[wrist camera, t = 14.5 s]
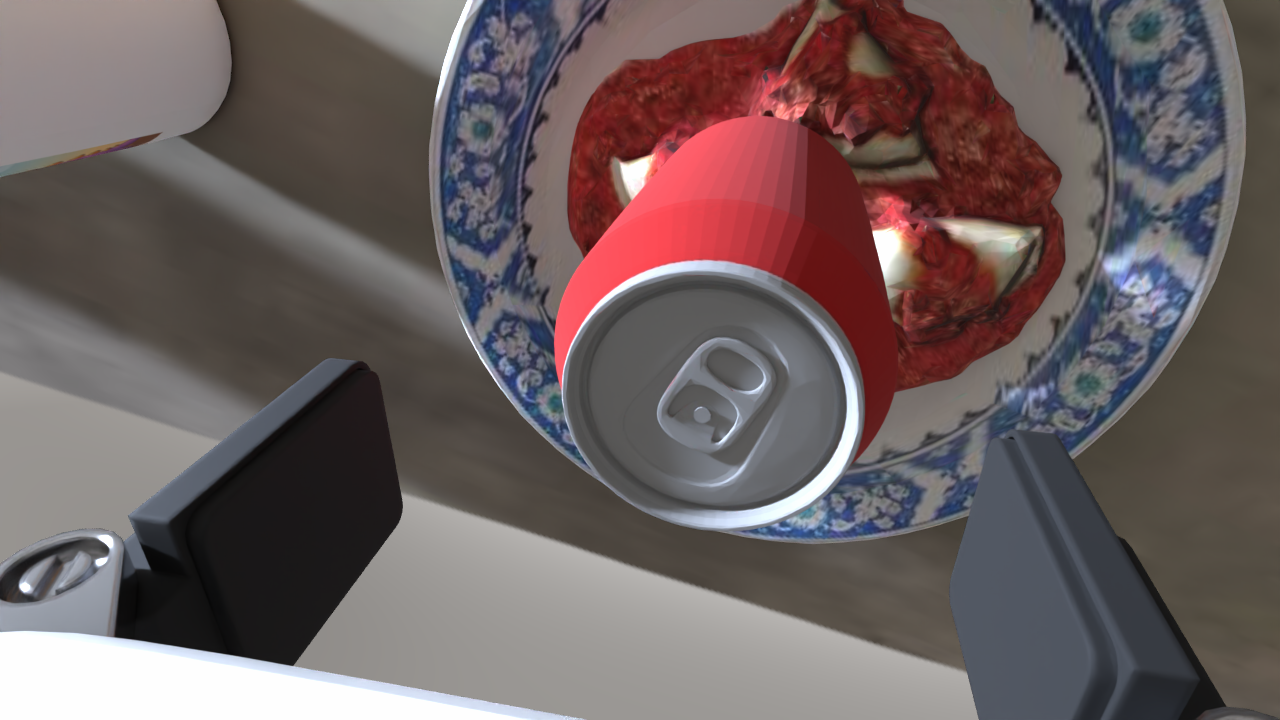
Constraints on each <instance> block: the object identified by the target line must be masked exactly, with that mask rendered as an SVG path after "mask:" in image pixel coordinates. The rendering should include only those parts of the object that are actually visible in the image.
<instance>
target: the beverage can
mask: <svg viewBox="0 0 1280 720" xmlns="http://www.w3.org/2000/svg"><path fill="white" fill-rule="evenodd" d="M554 347H555V363H556V370H557V375H558V379H559V384H560V387H561V390H562V402H563V408H564V413H565V418H566V422H567V425H568V428H569V431H570V433H571V436H572V438H573V441H574V443H575V445H576V447H577V448H578V450H579V452H580V454H581V455H582V457H583V458H584V460H585V461H586V463H587V464H588V465H589V467H590V468H591V469H592V471H593V472H594V473H595V474H596V475H597V476H598V477H599V479H600V480H601V481H602V482H603V483H604V484H606V485H607V486H608V487H609V488H610V489H611V490H612V491H614V492H615V493H616V494H617V495H618V496H620V497H621V498H623V499H624V500H625V501H627V502H628V503H630V504H632V505H633V506H635V507H636V508H638V509H640V510H642V511H644V512H645V513H648V514H650V515H652V516H654V517H657V518H659V519H662V520H664V521H667V522H670V523H673V524H677V525H680V526H684V527H688V528H693V529H700V530H708V531H743V530H751V529H757V528H762V527H766V526H770V525H773V524H777V523H779V522H782V521H785V520H787V519H790V518H792V517H794V516H796V515H798V514H800V513H802V512H804V511H805V510H807V509H809V508H810V507H812V506H813V505H815V504H816V503H818V502H819V501H820V500H821V499H822V498H823V497H825V496H826V495H827V494H828V493H829V492H830V491H831V490H832V489H833V488H834V487H835V486H836V485H837V484H838V482H839V481H840V480H841V479H842V477H843V476H844V475H845V473H846V472H847V471H848V469H849V467H850V466H851V465H852V464H853V463H854V462H855V461H856V460H857V459H858V458H859V457H860V456H861V455H862V453H863V452H864V451H865V450H866V449H867V448H868V446H869V445H870V443H871V442H872V441H873V439H874V438H875V436H876V435H877V433H878V431H879V430H880V428H881V426H882V424H883V422H884V421H885V418H886V416H887V414H888V411H889V409H890V406H891V403H892V400H893V397H894V393H895V388H896V384H897V376H898V345H897V338H896V333H895V328H894V323H893V318H892V314H891V309H890V304H889V300H888V295H887V290H886V286H885V281H884V276H883V272H882V268H881V264H880V260H879V256H878V252H877V248H876V244H875V240H874V236H873V232H872V228H871V224H870V220H869V217H868V213H867V210H866V207H865V203H864V200H863V197H862V193H861V190H860V187H859V184H858V182H857V179H856V177H855V175H854V173H853V171H852V169H851V167H850V166H849V164H848V163H847V161H846V160H845V159H844V157H843V156H842V155H841V154H840V152H839V151H838V150H837V149H836V148H835V147H834V146H833V145H832V144H830V143H829V142H828V141H827V140H826V139H825V138H823V137H822V136H820V135H819V134H817V133H816V132H814V131H812V130H811V129H809V128H807V127H805V126H802V125H800V124H798V123H795V122H792V121H789V120H785V119H781V118H775V117H767V116H748V117H740V118H735V119H730V120H727V121H723V122H720V123H718V124H715V125H713V126H710V127H708V128H706V129H705V130H703V131H701V132H699V133H698V134H696V135H695V136H693V137H692V138H690V139H689V140H688V141H687V142H685V143H684V144H683V145H682V146H681V147H680V148H679V149H678V150H677V151H676V152H675V153H674V154H673V155H672V156H671V157H670V158H669V159H668V160H667V162H666V163H665V164H664V165H663V166H662V167H661V168H660V169H659V170H658V171H657V172H656V174H655V175H654V176H653V177H652V178H651V179H650V180H649V182H648V183H647V184H646V185H645V186H644V187H643V188H642V189H641V191H640V192H639V193H638V194H637V195H636V196H635V197H634V199H633V200H632V201H631V202H630V203H629V205H628V206H627V207H626V208H625V209H624V210H623V212H622V213H621V214H620V215H619V216H618V218H617V219H616V220H615V221H614V222H613V224H612V225H611V226H610V227H609V229H608V230H607V231H606V232H605V233H604V235H603V236H602V237H601V238H600V240H599V241H598V242H597V243H596V245H595V246H594V247H593V248H592V250H591V251H590V252H589V253H588V255H587V256H586V257H585V258H584V260H583V261H582V262H581V264H580V265H579V266H578V268H577V269H576V271H575V273H574V274H573V276H572V278H571V279H570V281H569V284H568V286H567V288H566V290H565V292H564V295H563V298H562V300H561V303H560V307H559V311H558V315H557V320H556V327H555V339H554Z"/></svg>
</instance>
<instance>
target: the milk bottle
mask: <svg viewBox="0 0 1280 720" xmlns="http://www.w3.org/2000/svg"><path fill="white" fill-rule="evenodd" d="M231 66H232V59H231V49H230V40H229V37H228V33H227V29H226V24H225V21H224V18H223V16H222V13H221V11H220V8H219V6H218V3H217V1H216V0H0V177H3V176H8V175H12V174H17V173H21V172H26V171H30V170H35V169H39V168H44V167H48V166H53V165H57V164H61V163H66V162H70V161H74V160H79V159H83V158H87V157H92V156H96V155H100V154H105V153H109V152H113V151H118V150H122V149H126V148H131V147H135V146H139V145H143V144H148V143H152V142H156V141H160V140H165V139H168V138H172V137H175V136H179V135H182V134H186V133H189V132H192V131H194V130H196V129H198V128H200V127H201V126H203V125H204V124H205V123H206V122H208V121H209V120H210V118H211V117H212V116H213V115H214V114H215V113H216V112H217V110H218V109H219V107H220V105H221V103H222V102H223V100H224V98H225V97H226V93H227V90H228V86H229V83H230V78H231Z"/></svg>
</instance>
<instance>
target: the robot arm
mask: <svg viewBox="0 0 1280 720" xmlns="http://www.w3.org/2000/svg"><path fill="white" fill-rule="evenodd" d="M402 509H403V502H402V496H401V491H400V486H399V480H398V475H397V470H396V465H395V459H394V454H393V449H392V443H391V438H390V433H389V428H388V422H387V417H386V412H385V406H384V401H383V396H382V391H381V385H380V381H379V377H378V375H377V374H376V373H375V372H373V371H370V368H369V367H368V365H367V364H366V363H364V362H363V361H353V360H344V359H334V358H328V359H326V360H324V361H322V362H321V363H320V364H319V365H317V366H316V367H315V368H314V369H312V370H311V371H310V372H309V373H307V374H306V375H305V376H304V377H302V378H301V379H300V380H299V381H297V382H296V383H295V384H293V385H292V386H291V387H290V388H288V389H287V390H286V391H285V392H283V393H282V394H281V395H280V396H278V397H277V398H276V399H275V400H273V401H272V402H271V403H270V404H268V405H267V406H266V407H264V408H263V409H262V410H261V411H259V412H258V413H257V414H256V415H254V416H253V417H252V418H251V419H249V420H248V421H247V422H246V423H244V424H243V425H242V426H240V427H239V428H238V429H237V430H235V431H234V432H233V433H232V434H230V435H229V436H228V437H227V438H225V439H224V440H223V441H222V442H220V443H219V444H218V445H217V446H215V447H214V448H213V449H212V450H210V451H209V452H208V453H206V454H205V455H204V456H203V457H201V458H200V459H199V460H198V461H196V462H195V463H194V464H193V465H191V466H190V467H189V468H188V469H186V470H185V471H184V472H183V473H181V474H180V475H179V476H177V477H176V478H175V479H174V480H172V481H171V482H170V483H169V484H167V485H166V486H165V487H164V488H162V489H161V490H160V491H159V492H157V493H156V494H155V495H154V496H152V497H151V498H150V499H148V500H147V501H146V502H145V503H143V504H142V505H141V506H140V507H138V508H137V509H136V510H135V511H133V512H132V513H131V514H130V515H128V517H129V519H130V522H131V524H132V527H133V529H134V531H135V533H134V534H132V535H131V536H130V537H129V538H127V539H126V540H125V541H124V542H123V540H122V538H121V537H119V536H118V535H117V534H116V533H115V532H113V531H109V530H105V529H100V528H99V529H97V528H96V529H79V530H74V531H69V532H63V533H60V534H57V535H54V536H51V537H48V538H45V539H42V540H40V541H38V542H36V543H34V544H32V545H29V546H28V547H25V548H23V549H21V550H19V551H18V552H16V553H15V554H13V555H12V556H10V557H9V558H7V559H6V560H4V561H3V562H1V563H0V720H585V719H580V718H574V717H569V716H564V715H558V714H553V713H547V712H542V711H536V710H532V709H526V708H521V707H515V706H510V705H504V704H499V703H494V702H488V701H483V700H477V699H472V698H466V697H460V696H455V695H450V694H444V693H439V692H434V691H428V690H423V689H417V688H412V687H406V686H401V685H395V684H390V683H384V682H378V681H373V680H367V679H362V678H356V677H350V676H345V675H339V674H333V673H328V672H323V671H317V670H311V669H305V668H300V667H294V666H293V665H294V664H295V663H296V661H297V660H298V659H299V657H300V656H301V655H302V653H303V652H304V651H305V649H306V648H307V646H308V645H309V644H310V643H311V641H312V640H313V638H314V637H315V636H316V634H317V633H318V632H319V630H320V629H321V628H322V626H323V625H324V624H325V622H326V621H327V619H328V618H329V617H330V615H331V614H332V613H333V611H334V610H335V609H336V607H337V606H338V605H339V603H340V602H341V601H342V599H343V598H344V597H345V595H346V594H347V593H348V591H349V590H350V588H351V587H352V586H353V584H354V583H355V582H356V580H357V579H358V578H359V576H360V575H361V574H362V572H363V571H364V569H365V568H366V567H367V565H368V564H369V563H370V561H371V560H372V559H373V557H374V556H375V555H376V553H377V552H378V551H379V549H380V548H381V547H382V545H383V544H384V542H385V541H386V540H387V538H388V537H389V536H390V534H391V533H392V532H393V530H394V529H395V528H396V526H397V525H398V523H399V521H400V518H401V515H402ZM949 597H950V605H951V609H952V613H953V617H954V621H955V625H956V629H957V633H958V637H959V642H960V646H961V650H962V654H963V658H964V662H965V666H966V670H967V674H968V678H969V682H970V685H971V690H972V694H973V698H974V702H975V706H976V710H977V714H978V718H979V720H1280V719H1278V718H1276V717H1273V716H1270V715H1267V714H1263V713H1260V712H1257V711H1254V710H1250V709H1244V708H1234V707H1226V705H1225V703H1224V702H1223V700H1222V698H1221V697H1220V695H1219V693H1218V692H1217V690H1216V688H1215V687H1214V685H1213V683H1212V682H1211V680H1210V678H1209V677H1208V675H1207V673H1206V672H1205V670H1204V668H1203V667H1202V665H1201V663H1200V662H1199V660H1198V658H1197V656H1196V655H1195V653H1194V651H1193V650H1192V648H1191V646H1190V645H1189V643H1188V641H1187V640H1186V638H1185V636H1184V635H1183V633H1182V631H1181V630H1180V628H1179V626H1178V625H1177V623H1176V621H1175V620H1174V618H1173V616H1172V615H1171V613H1170V611H1169V610H1168V608H1167V606H1166V605H1165V603H1164V601H1163V599H1162V598H1161V596H1160V594H1159V593H1158V591H1157V589H1156V588H1155V586H1154V584H1153V583H1152V581H1151V579H1150V578H1149V576H1148V574H1147V573H1146V571H1145V569H1144V568H1143V566H1142V564H1141V563H1140V561H1139V559H1138V558H1137V556H1136V554H1135V553H1134V551H1133V549H1132V548H1131V547H1130V545H1129V544H1128V543H1127V542H1126V540H1125V539H1123V538H1121V537H1119V536H1116V534H1115V532H1114V530H1113V529H1112V527H1111V525H1110V524H1109V522H1108V520H1107V518H1106V517H1105V515H1104V513H1103V512H1102V510H1101V508H1100V506H1099V505H1098V503H1097V501H1096V500H1095V498H1094V496H1093V494H1092V493H1091V491H1090V489H1089V488H1088V486H1087V484H1086V482H1085V481H1084V479H1083V477H1082V476H1081V474H1080V472H1079V470H1078V469H1077V467H1076V465H1075V463H1074V462H1073V460H1072V458H1071V457H1070V455H1069V453H1068V451H1067V450H1066V448H1065V446H1064V445H1063V443H1062V441H1061V439H1060V438H1059V437H1058V436H1057V435H1056V434H1053V433H1045V432H1035V431H1025V430H1016V429H1011V430H1009V431H1008V432H1007V433H1006V435H1005V436H1004V438H993V439H992V440H991V442H990V444H989V447H988V450H987V453H986V457H985V460H984V464H983V467H982V471H981V474H980V478H979V481H978V485H977V488H976V492H975V495H974V499H973V503H972V506H971V510H970V513H969V517H968V520H967V524H966V527H965V531H964V534H963V538H962V541H961V545H960V548H959V552H958V555H957V559H956V562H955V566H954V569H953V573H952V576H951V580H950V588H949Z"/></svg>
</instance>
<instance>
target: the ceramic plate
mask: <svg viewBox="0 0 1280 720" xmlns="http://www.w3.org/2000/svg"><path fill="white" fill-rule="evenodd" d="M748 116H767V117H775V118H781V119H785V120H789V121H792V122H795V123H798V124H800V125H802V126H805V127H807V128H809V129H811V130H812V131H814V132H816V133H817V134H819V135H820V136H822V137H823V138H825V139H826V140H827V141H828V142H829V143H830V144H832V145H833V146H834V147H835V148H836V149H837V150H838V151H839V152H840V154H841V155H842V156H843V157H844V159H845V160H846V161H847V163H848V164H849V166H850V167H851V169H852V171H853V173H854V175H855V177H856V179H857V182H858V184H859V187H860V190H861V193H862V197H863V200H864V203H865V207H866V210H867V213H868V217H869V220H870V224H871V228H872V232H873V236H874V240H875V244H876V248H877V252H878V256H879V260H880V264H881V268H882V272H883V276H884V281H885V286H886V290H887V295H888V300H889V304H890V309H891V314H892V318H893V323H894V328H895V333H896V338H897V345H898V376H897V384H896V388H895V393H894V397H893V400H892V403H891V406H890V409H889V411H888V414H887V416H886V418H885V421H884V422H883V424H882V426H881V428H880V430H879V431H878V433H877V435H876V436H875V438H874V439H873V441H872V442H871V443H870V445H869V446H868V448H867V449H866V450H865V451H864V452H863V453H862V455H861V456H860V457H859V458H858V459H857V460H856V461H855V462H854V463H853V464H852V465H851V466H850V467H849V469H848V471H847V472H846V473H845V475H844V476H843V477H842V479H841V480H840V481H839V482H838V484H837V485H836V486H835V487H834V488H833V489H832V490H831V491H830V492H829V493H828V494H827V495H826V496H825V497H823V498H822V499H821V500H820V501H819V502H818V503H816V504H815V505H813V506H812V507H810V508H809V509H807V510H805V511H804V512H802V513H800V514H798V515H796V516H794V517H792V518H790V519H787V520H785V521H782V522H779V523H777V524H773V525H770V526H766V527H762V528H757V529H751V530H743V531H718V532H723V533H727V534H732V535H737V536H742V537H747V538H755V539H762V540H769V541H778V542H793V543H807V544H822V543H840V542H851V541H862V540H872V539H878V538H884V537H890V536H896V535H902V534H906V533H910V532H914V531H918V530H922V529H926V528H930V527H934V526H938V525H941V524H944V523H947V522H950V521H953V520H956V519H959V518H963V517H966V516H969V513H970V510H971V506H972V503H973V499H974V495H975V492H976V488H977V485H978V481H979V478H980V474H981V471H982V467H983V464H984V460H985V457H986V453H987V450H988V447H989V444H990V442H991V440H992V439H993V438H1004V436H1005V435H1006V433H1007V432H1008V431H1009V430H1011V429H1016V430H1025V431H1035V432H1045V433H1053V434H1056V435H1057V436H1058V437H1059V438H1060V439H1061V441H1062V443H1063V445H1064V446H1065V448H1066V450H1067V451H1068V453H1069V455H1070V457H1071V458H1072V459H1074V458H1075V457H1076V456H1077V455H1079V454H1080V453H1081V452H1082V451H1084V450H1085V449H1086V448H1087V447H1089V446H1090V445H1091V444H1092V443H1093V442H1095V441H1096V440H1097V439H1098V438H1099V437H1100V436H1101V435H1102V434H1104V433H1105V432H1106V431H1107V430H1108V429H1109V428H1110V427H1111V426H1113V425H1114V424H1115V423H1116V422H1117V421H1118V420H1119V419H1120V418H1121V417H1122V416H1123V415H1124V414H1125V413H1126V412H1127V411H1128V410H1129V409H1130V408H1131V407H1132V406H1133V405H1134V404H1135V403H1136V401H1137V400H1138V399H1139V398H1140V397H1141V396H1142V395H1143V394H1144V393H1145V392H1146V391H1147V390H1148V389H1149V388H1150V387H1151V386H1152V384H1153V383H1154V382H1155V380H1156V379H1157V378H1158V376H1159V375H1160V374H1161V372H1162V371H1163V369H1164V368H1165V367H1166V365H1167V364H1168V363H1169V361H1170V360H1171V358H1172V357H1173V355H1174V354H1175V352H1176V351H1177V349H1178V347H1179V346H1180V344H1181V343H1182V341H1183V340H1184V338H1185V336H1186V335H1187V333H1188V332H1189V330H1190V329H1191V327H1192V326H1193V324H1194V322H1195V320H1196V318H1197V316H1198V314H1199V312H1200V310H1201V308H1202V306H1203V304H1204V302H1205V300H1206V298H1207V296H1208V294H1209V292H1210V290H1211V288H1212V286H1213V284H1214V282H1215V280H1216V278H1217V275H1218V272H1219V269H1220V266H1221V263H1222V261H1223V258H1224V255H1225V252H1226V249H1227V246H1228V242H1229V238H1230V235H1231V231H1232V227H1233V223H1234V219H1235V216H1236V212H1237V208H1238V203H1239V196H1240V189H1241V182H1242V176H1243V169H1244V162H1245V155H1246V112H1245V100H1244V89H1243V78H1242V70H1241V65H1240V60H1239V56H1238V51H1237V46H1236V42H1235V37H1234V32H1233V28H1232V24H1231V21H1230V19H1229V16H1228V13H1227V10H1226V7H1225V4H1224V2H1223V0H468V1H467V4H466V6H465V8H464V11H463V13H462V15H461V17H460V20H459V22H458V24H457V27H456V29H455V31H454V34H453V36H452V39H451V42H450V45H449V48H448V52H447V55H446V58H445V61H444V65H443V68H442V73H441V77H440V82H439V86H438V91H437V95H436V99H435V105H434V113H433V121H432V129H431V137H430V145H429V184H430V201H431V213H432V219H433V226H434V233H435V239H436V246H437V251H438V255H439V258H440V262H441V266H442V269H443V273H444V276H445V279H446V282H447V285H448V288H449V291H450V294H451V297H452V300H453V303H454V305H455V308H456V310H457V312H458V314H459V317H460V319H461V321H462V324H463V326H464V328H465V330H466V333H467V335H468V336H469V338H470V340H471V342H472V344H473V346H474V347H475V349H476V351H477V353H478V355H479V357H480V358H481V360H482V362H483V363H484V365H485V366H486V368H487V369H488V371H489V372H490V374H491V375H492V377H493V378H494V380H495V381H496V383H497V385H498V386H499V387H500V389H501V390H502V391H503V392H504V394H505V395H506V396H507V398H508V399H509V400H510V401H511V403H512V404H513V405H514V407H515V408H516V409H517V410H518V412H519V413H520V414H521V415H522V416H523V417H524V418H525V419H526V420H527V421H528V422H529V423H530V424H531V425H532V426H533V427H534V429H535V430H536V431H538V432H539V433H540V434H541V435H542V436H543V437H544V438H545V439H546V440H547V441H548V442H549V443H551V444H552V445H553V446H554V447H555V448H556V449H557V450H558V451H559V452H561V453H562V454H563V455H564V456H566V457H567V458H568V459H570V460H571V461H572V462H573V463H575V464H576V465H577V466H578V467H580V468H581V469H582V470H584V471H585V472H587V473H588V474H590V475H591V476H593V477H594V478H596V479H597V480H599V481H600V482H602V481H601V480H600V479H599V477H598V476H597V475H596V474H595V473H594V472H593V471H592V469H591V468H590V467H589V465H588V464H587V463H586V461H585V460H584V458H583V457H582V455H581V454H580V452H579V450H578V448H577V447H576V445H575V443H574V441H573V438H572V436H571V433H570V431H569V428H568V425H567V422H566V418H565V413H564V408H563V402H562V390H561V387H560V384H559V379H558V375H557V370H556V363H555V347H554V339H555V327H556V320H557V315H558V311H559V307H560V303H561V300H562V298H563V295H564V292H565V290H566V288H567V286H568V284H569V281H570V279H571V278H572V276H573V274H574V273H575V271H576V269H577V268H578V266H579V265H580V264H581V262H582V261H583V260H584V258H585V257H586V256H587V255H588V253H589V252H590V251H591V250H592V248H593V247H594V246H595V245H596V243H597V242H598V241H599V240H600V238H601V237H602V236H603V235H604V233H605V232H606V231H607V230H608V229H609V227H610V226H611V225H612V224H613V222H614V221H615V220H616V219H617V218H618V216H619V215H620V214H621V213H622V212H623V210H624V209H625V208H626V207H627V206H628V205H629V203H630V202H631V201H632V200H633V199H634V197H635V196H636V195H637V194H638V193H639V192H640V191H641V189H642V188H643V187H644V186H645V185H646V184H647V183H648V182H649V180H650V179H651V178H652V177H653V176H654V175H655V174H656V172H657V171H658V170H659V169H660V168H661V167H662V166H663V165H664V164H665V163H666V162H667V160H668V159H669V158H670V157H671V156H672V155H673V154H674V153H675V152H676V151H677V150H678V149H679V148H680V147H681V146H682V145H683V144H684V143H685V142H687V141H688V140H689V139H690V138H692V137H693V136H695V135H696V134H698V133H699V132H701V131H703V130H705V129H706V128H708V127H710V126H713V125H715V124H718V123H720V122H723V121H727V120H730V119H735V118H740V117H748ZM602 483H603V482H602ZM603 484H604V483H603ZM605 485H606V484H605ZM606 486H607V485H606ZM607 487H608V486H607Z"/></svg>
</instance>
